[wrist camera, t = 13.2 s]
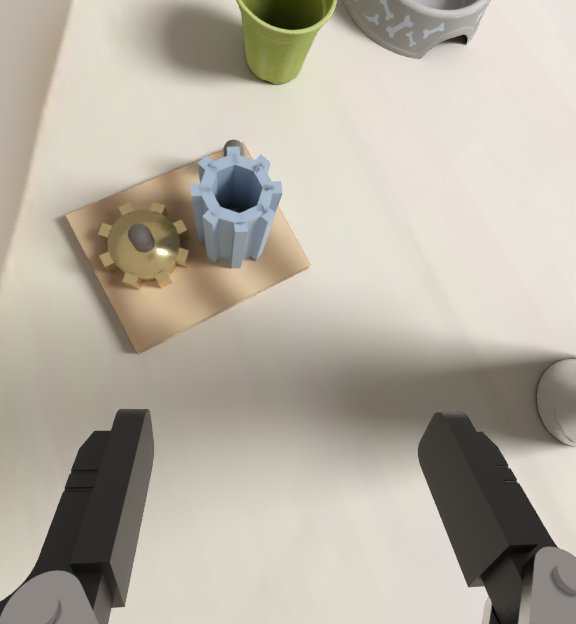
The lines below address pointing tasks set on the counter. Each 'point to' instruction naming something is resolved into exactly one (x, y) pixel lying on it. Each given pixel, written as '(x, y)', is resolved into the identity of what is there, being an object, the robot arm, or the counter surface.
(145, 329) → the gear board
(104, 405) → the counter surface
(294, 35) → the plant pot
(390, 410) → the counter surface
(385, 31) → the dog bowl
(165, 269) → the gear
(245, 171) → the pinion
